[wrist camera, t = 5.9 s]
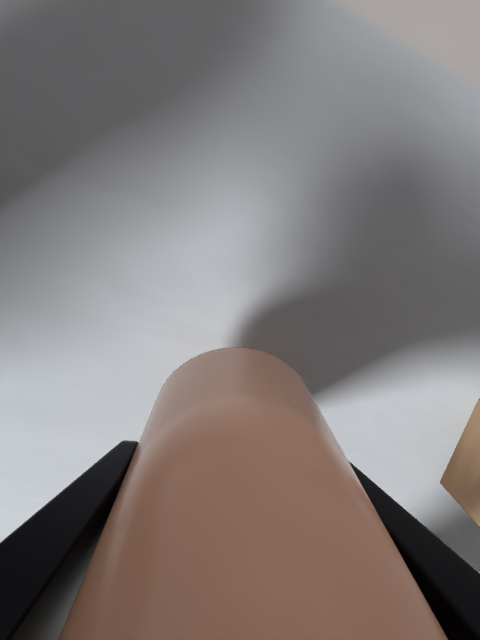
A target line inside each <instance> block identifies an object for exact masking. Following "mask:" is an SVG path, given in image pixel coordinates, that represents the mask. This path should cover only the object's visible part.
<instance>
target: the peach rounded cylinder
mask: <svg viewBox="0 0 480 640" xmlns="http://www.w3.org/2000/svg"><path fill="white" fill-rule="evenodd" d="M58 640H448V639H447V637H446V635H445V633H444V631H443V630H442V628H441V626H440V624H439V622H438V621H437V619H436V617H435V615H434V613H433V612H432V610H431V608H430V606H429V605H428V603H427V601H426V599H425V597H424V596H423V594H422V592H421V590H420V588H419V587H418V585H417V583H416V581H415V580H414V578H413V576H412V574H411V572H410V571H409V569H408V567H407V565H406V563H405V562H404V560H403V558H402V556H401V554H400V553H399V551H398V549H397V547H396V546H395V544H394V542H393V540H392V538H391V537H390V535H389V533H388V531H387V529H386V528H385V526H384V524H383V522H382V520H381V519H380V517H379V515H378V513H377V512H376V510H375V508H374V506H373V504H372V503H371V501H370V499H369V497H368V495H367V494H366V492H365V490H364V488H363V486H362V485H361V483H360V481H359V479H358V478H357V476H356V474H355V472H354V470H353V469H352V467H351V465H350V463H349V461H348V460H347V458H346V456H345V454H344V452H343V451H342V449H341V447H340V445H339V444H338V442H337V440H336V438H335V436H334V435H333V433H332V431H331V429H330V427H329V426H328V424H327V422H326V420H325V418H324V417H323V415H322V413H321V411H320V410H319V408H318V406H317V404H316V402H315V401H314V399H313V397H312V395H311V393H310V392H309V390H308V388H307V386H306V384H305V383H304V381H303V380H302V378H301V377H300V376H299V374H298V373H297V372H296V371H295V370H294V369H293V368H292V367H291V366H289V365H288V364H287V363H286V362H284V361H283V360H281V359H279V358H278V357H276V356H273V355H271V354H269V353H266V352H263V351H260V350H256V349H250V348H239V347H232V348H222V349H217V350H212V351H209V352H206V353H203V354H200V355H198V356H196V357H194V358H192V359H190V360H189V361H187V362H185V363H184V364H182V365H181V366H180V367H179V368H178V369H176V370H175V371H174V372H173V373H172V374H171V375H170V377H169V378H168V379H167V380H166V382H165V383H164V385H163V386H162V388H161V390H160V392H159V394H158V396H157V399H156V401H155V404H154V406H153V408H152V411H151V413H150V416H149V418H148V421H147V423H146V426H145V428H144V430H143V433H142V435H141V438H140V440H139V443H138V445H137V448H136V450H135V453H134V455H133V457H132V460H131V462H130V465H129V467H128V470H127V472H126V475H125V477H124V480H123V482H122V484H121V487H120V489H119V492H118V494H117V497H116V499H115V502H114V504H113V507H112V509H111V511H110V514H109V516H108V519H107V521H106V524H105V526H104V529H103V531H102V534H101V536H100V538H99V541H98V543H97V546H96V548H95V551H94V553H93V556H92V558H91V561H90V563H89V565H88V568H87V570H86V573H85V575H84V578H83V580H82V583H81V585H80V588H79V590H78V592H77V595H76V597H75V600H74V602H73V605H72V607H71V610H70V612H69V614H68V617H67V619H66V622H65V624H64V627H63V629H62V632H61V634H60V637H59V639H58Z"/></svg>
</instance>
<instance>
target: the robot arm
mask: <svg viewBox="0 0 480 640" xmlns="http://www.w3.org/2000/svg"><path fill="white" fill-rule="evenodd" d="M137 445H138V442H137V441H126V440H125V441H122V442H120V443H119V444H118V445H117V446H116V447H114V448H113V449H112V450H111V451H110V452H108V453H107V454H106V455H105V456H104V457H102V458H101V459H100V460H99V461H98V462H96V463H95V464H94V465H93V466H92V467H90V468H89V469H88V470H87V471H86V472H84V473H83V474H82V475H81V476H80V477H78V478H77V479H76V480H75V481H74V482H72V483H71V484H70V485H69V486H68V487H66V488H65V489H64V490H63V491H62V492H60V493H59V494H58V495H57V496H56V497H54V498H53V499H52V500H51V501H50V502H48V503H47V504H46V505H45V506H44V507H42V508H41V509H40V510H39V511H38V512H36V513H35V514H34V515H33V516H32V517H31V518H29V519H28V520H27V521H26V522H25V523H23V524H22V525H21V526H20V527H19V528H17V529H16V530H15V531H14V532H13V533H11V534H10V535H9V536H8V537H7V538H5V539H4V540H3V541H2V542H1V543H0V640H58V639H59V637H60V634H61V632H62V629H63V627H64V624H65V622H66V619H67V617H68V614H69V612H70V610H71V607H72V605H73V602H74V600H75V597H76V595H77V592H78V590H79V588H80V585H81V583H82V580H83V578H84V575H85V573H86V570H87V568H88V565H89V563H90V561H91V558H92V556H93V553H94V551H95V548H96V546H97V543H98V541H99V538H100V536H101V534H102V531H103V529H104V526H105V524H106V521H107V519H108V516H109V514H110V511H111V509H112V507H113V504H114V502H115V499H116V497H117V494H118V492H119V489H120V487H121V484H122V482H123V480H124V477H125V475H126V472H127V470H128V467H129V465H130V462H131V460H132V457H133V455H134V453H135V450H136V448H137ZM349 463H350V462H349ZM350 465H351V467H352V469H353V470H354V472H355V474H356V476H357V478H358V479H359V481H360V483H361V485H362V486H363V488H364V490H365V492H366V494H367V495H368V497H369V499H370V501H371V503H372V504H373V506H374V508H375V510H376V512H377V513H378V515H379V517H380V519H381V520H382V522H383V524H384V526H385V528H386V529H387V531H388V533H389V535H390V537H391V538H392V540H393V542H394V544H395V546H396V547H397V549H398V551H399V553H400V554H401V556H402V558H403V560H404V562H405V563H406V565H407V567H408V569H409V571H410V572H411V574H412V576H413V578H414V580H415V581H416V583H417V585H418V587H419V588H420V590H421V592H422V594H423V596H424V597H425V599H426V601H427V603H428V605H429V606H430V608H431V610H432V612H433V613H434V615H435V617H436V619H437V621H438V622H439V624H440V626H441V628H442V630H443V631H444V633H445V635H446V637H447V639H448V640H480V574H479V573H478V572H477V571H476V570H475V569H473V568H472V567H471V566H470V565H469V564H468V563H467V562H465V561H464V560H463V559H462V558H461V557H460V556H458V555H457V554H456V553H455V552H454V551H453V550H451V549H450V548H449V547H448V546H447V545H446V544H444V543H443V542H442V541H441V540H440V539H439V538H437V537H436V536H435V535H434V534H433V533H432V532H431V531H429V530H428V529H427V528H426V527H425V526H424V525H422V524H421V523H420V522H419V521H418V520H417V519H415V518H414V517H413V516H412V515H411V514H410V513H408V512H407V511H406V510H405V509H404V508H403V507H402V506H400V505H399V504H398V503H397V502H396V501H395V500H393V499H392V498H391V497H390V496H389V495H388V494H386V493H385V492H384V491H383V490H382V489H381V488H379V487H378V486H377V485H376V484H375V483H374V482H372V481H371V480H370V479H369V478H368V477H367V476H366V475H364V474H363V473H362V472H361V471H360V470H359V469H357V468H356V467H355V466H354V465H353V464H352V463H350Z"/></svg>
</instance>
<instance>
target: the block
mask: <svg viewBox="0 0 480 640" xmlns="http://www.w3.org/2000/svg"><path fill="white" fill-rule="evenodd" d="M440 483H441V484H442V485H443V486H444V488H445V489H446V490H447V491H448V492H449V493H450V494H451V495H452V497H453V498H454V499H455V500H456V501H457V502H458V503H459V504H460V506H461V507H462V508H463V509H464V510H465V511H466V512H467V514H468V515H469V516H470V517H471V518H472V519H473V520H474V521H475V523H476V524H477V525H478V526H479V527H480V399H478V402H477V404H476V406H475V408H474V410H473V412H472V414H471V417H470V419H469V421H468V423H467V425H466V427H465V429H464V432H463V434H462V436H461V438H460V440H459V442H458V444H457V447H456V449H455V451H454V453H453V455H452V457H451V459H450V462H449V464H448V466H447V468H446V470H445V472H444V474H443V477H442V479H441V481H440Z"/></svg>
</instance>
